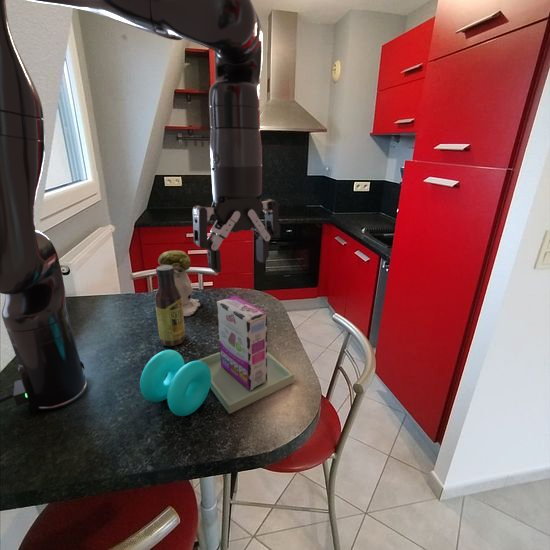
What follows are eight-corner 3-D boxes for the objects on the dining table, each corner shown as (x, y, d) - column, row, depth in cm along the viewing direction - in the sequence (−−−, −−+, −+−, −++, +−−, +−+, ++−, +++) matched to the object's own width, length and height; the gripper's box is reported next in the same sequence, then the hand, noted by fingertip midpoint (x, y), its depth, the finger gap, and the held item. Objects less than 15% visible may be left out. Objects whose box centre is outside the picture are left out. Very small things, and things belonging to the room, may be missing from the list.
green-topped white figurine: (156, 303, 102) (148, 247, 95) (197, 297, 106) (192, 243, 99) (157, 320, 92) (147, 260, 85) (202, 313, 96) (196, 255, 89)
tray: (229, 414, 60) (228, 405, 59) (195, 368, 72) (195, 361, 71) (293, 382, 68) (293, 374, 67) (253, 346, 80) (253, 339, 79)
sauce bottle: (178, 349, 79) (169, 274, 72) (155, 346, 80) (143, 271, 73) (190, 335, 85) (182, 264, 78) (168, 332, 86) (159, 262, 79)
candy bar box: (269, 381, 67) (268, 312, 61) (250, 392, 64) (247, 321, 58) (238, 357, 75) (235, 293, 69) (219, 366, 72) (215, 300, 66)
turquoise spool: (179, 430, 56) (173, 385, 53) (140, 409, 61) (132, 366, 57) (216, 395, 64) (212, 353, 61) (179, 378, 69) (174, 339, 65)
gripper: (263, 161, 54) (263, 253, 60) (180, 162, 46) (190, 267, 52) (290, 163, 48) (287, 264, 54) (200, 165, 41) (209, 282, 47)
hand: (239, 266), depth 53 cm, fingers open, 8 cm apart
